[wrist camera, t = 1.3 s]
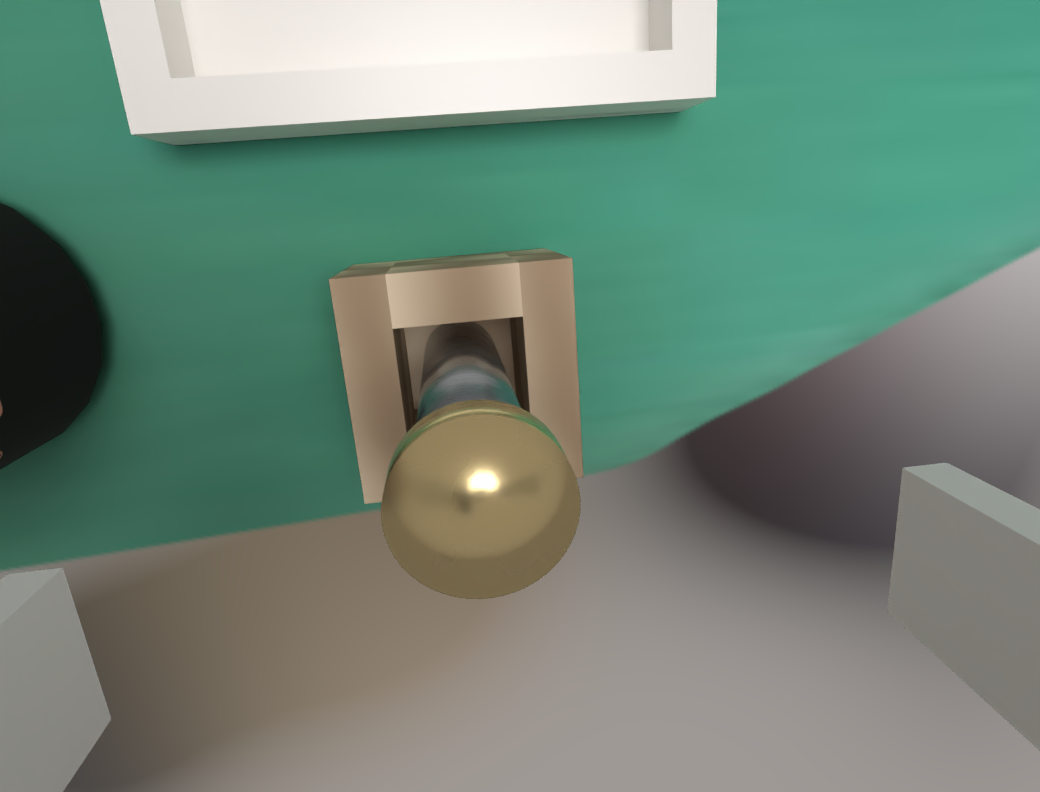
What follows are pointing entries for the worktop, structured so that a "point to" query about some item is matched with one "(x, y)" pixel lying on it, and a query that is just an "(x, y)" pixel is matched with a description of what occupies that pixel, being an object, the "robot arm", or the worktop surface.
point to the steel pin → (476, 478)
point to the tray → (401, 63)
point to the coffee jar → (42, 338)
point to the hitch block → (453, 299)
